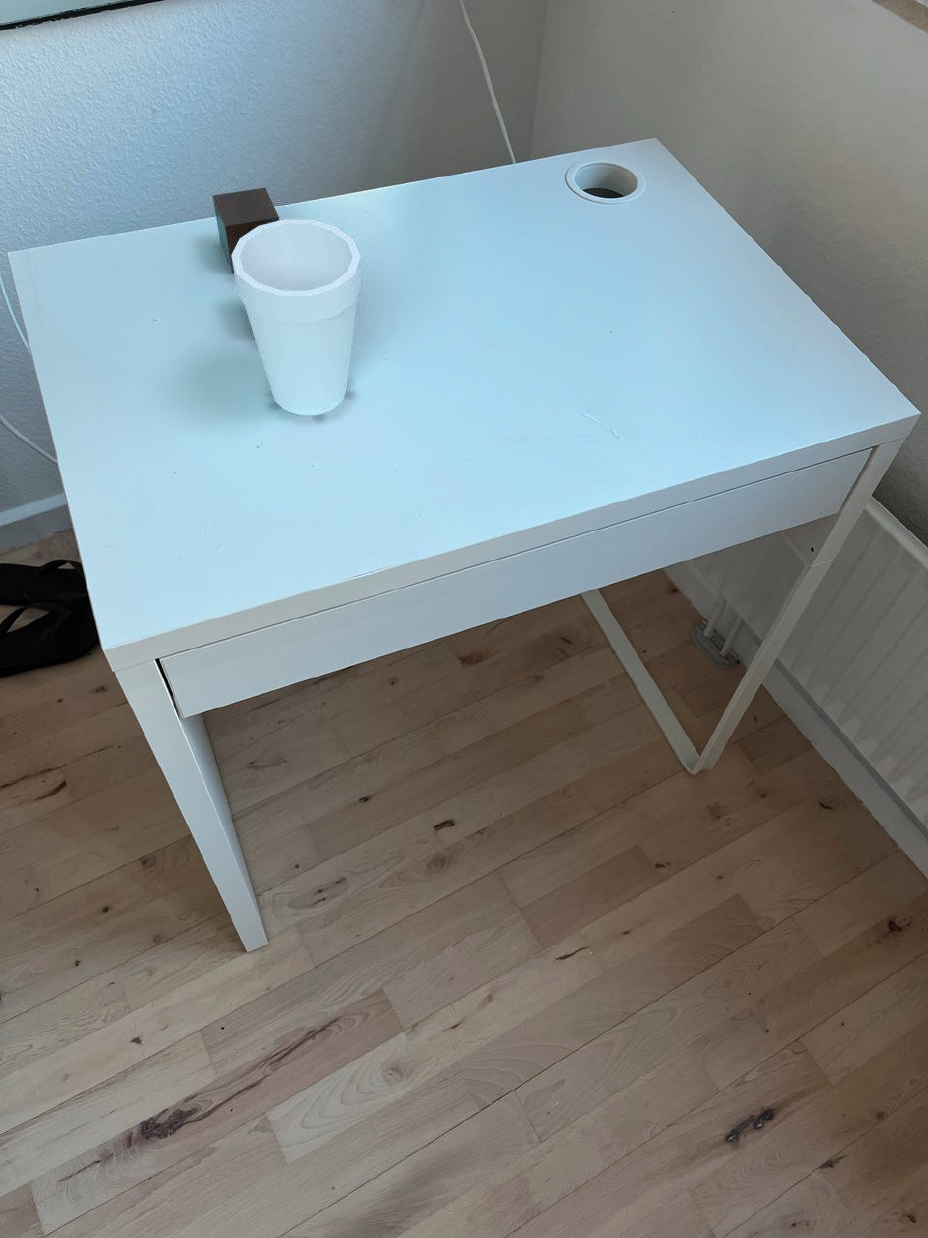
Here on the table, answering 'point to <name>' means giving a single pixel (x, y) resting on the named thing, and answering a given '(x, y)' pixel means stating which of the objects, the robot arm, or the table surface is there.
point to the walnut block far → (241, 216)
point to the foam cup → (301, 308)
